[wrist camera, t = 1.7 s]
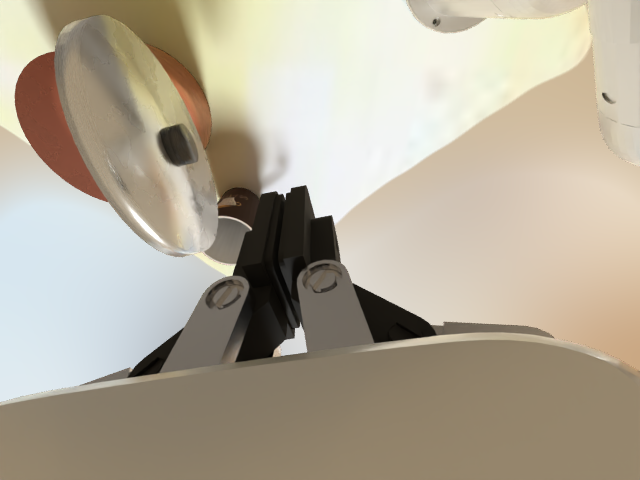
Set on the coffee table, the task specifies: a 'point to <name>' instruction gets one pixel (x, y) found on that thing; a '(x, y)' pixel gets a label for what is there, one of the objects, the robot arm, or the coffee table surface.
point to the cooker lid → (136, 135)
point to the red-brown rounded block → (52, 129)
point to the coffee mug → (232, 225)
